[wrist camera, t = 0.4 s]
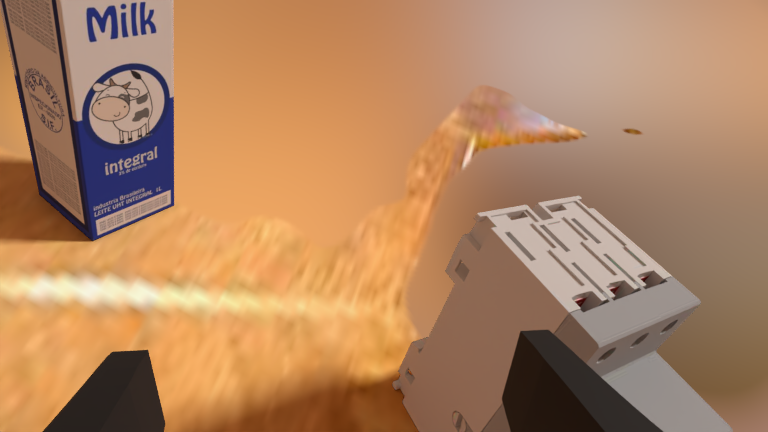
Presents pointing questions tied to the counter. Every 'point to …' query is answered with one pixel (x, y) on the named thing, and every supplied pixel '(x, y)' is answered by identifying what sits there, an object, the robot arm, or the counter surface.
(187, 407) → the counter surface
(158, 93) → the milk carton
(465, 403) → the circuit breaker
